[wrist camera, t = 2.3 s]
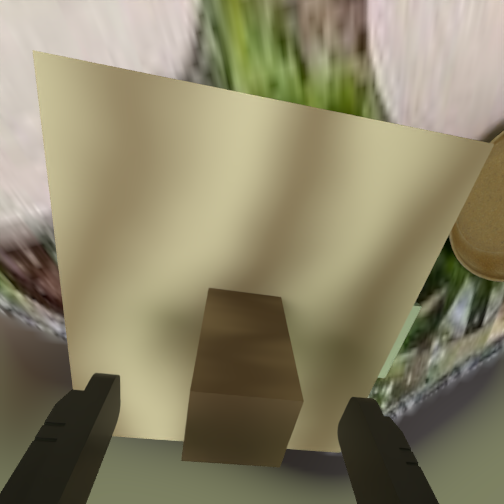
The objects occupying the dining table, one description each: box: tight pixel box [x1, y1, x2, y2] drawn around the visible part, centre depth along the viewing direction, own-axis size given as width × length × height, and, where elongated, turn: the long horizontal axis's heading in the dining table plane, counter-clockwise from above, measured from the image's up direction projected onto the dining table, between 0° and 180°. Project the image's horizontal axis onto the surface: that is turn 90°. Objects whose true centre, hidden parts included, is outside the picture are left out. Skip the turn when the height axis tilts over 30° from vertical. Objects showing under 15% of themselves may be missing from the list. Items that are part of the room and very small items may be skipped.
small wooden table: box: [33, 51, 494, 467], centre depth 17 cm, size 16×19×18 cm
